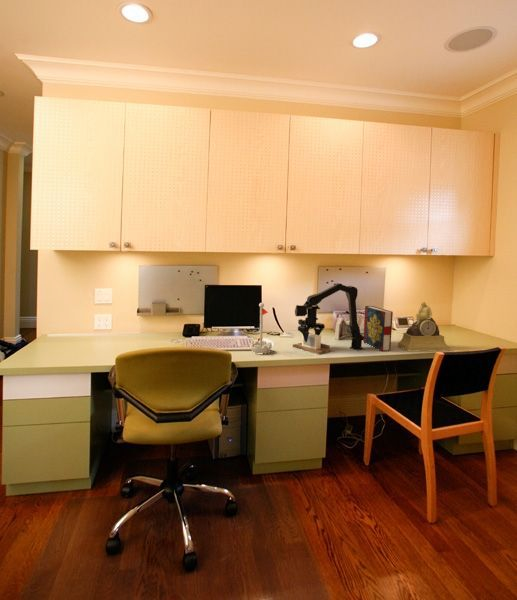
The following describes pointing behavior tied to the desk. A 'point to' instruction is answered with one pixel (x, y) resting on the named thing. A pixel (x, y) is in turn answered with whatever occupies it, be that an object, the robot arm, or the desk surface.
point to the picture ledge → (323, 349)
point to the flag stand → (261, 346)
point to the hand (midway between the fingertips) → (311, 340)
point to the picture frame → (312, 341)
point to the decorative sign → (341, 329)
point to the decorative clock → (423, 333)
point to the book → (378, 327)
